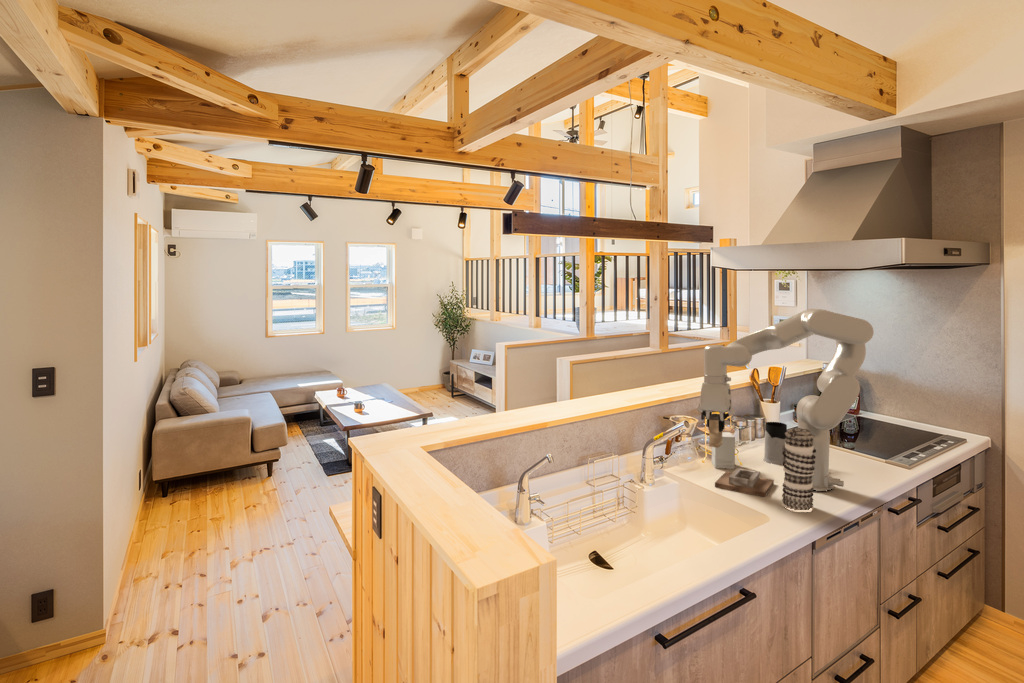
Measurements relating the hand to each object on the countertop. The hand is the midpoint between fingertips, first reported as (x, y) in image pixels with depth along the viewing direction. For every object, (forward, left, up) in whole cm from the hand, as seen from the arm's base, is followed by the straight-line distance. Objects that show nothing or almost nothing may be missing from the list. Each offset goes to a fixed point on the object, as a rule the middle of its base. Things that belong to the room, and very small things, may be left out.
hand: (715, 429), depth 182 cm
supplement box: (+2, -18, -19) cm, 26 cm away
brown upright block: (0, 0, -6) cm, 6 cm away
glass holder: (-16, -36, -19) cm, 43 cm away
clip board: (-10, -1, -19) cm, 21 cm away
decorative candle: (-28, +9, -19) cm, 35 cm away
